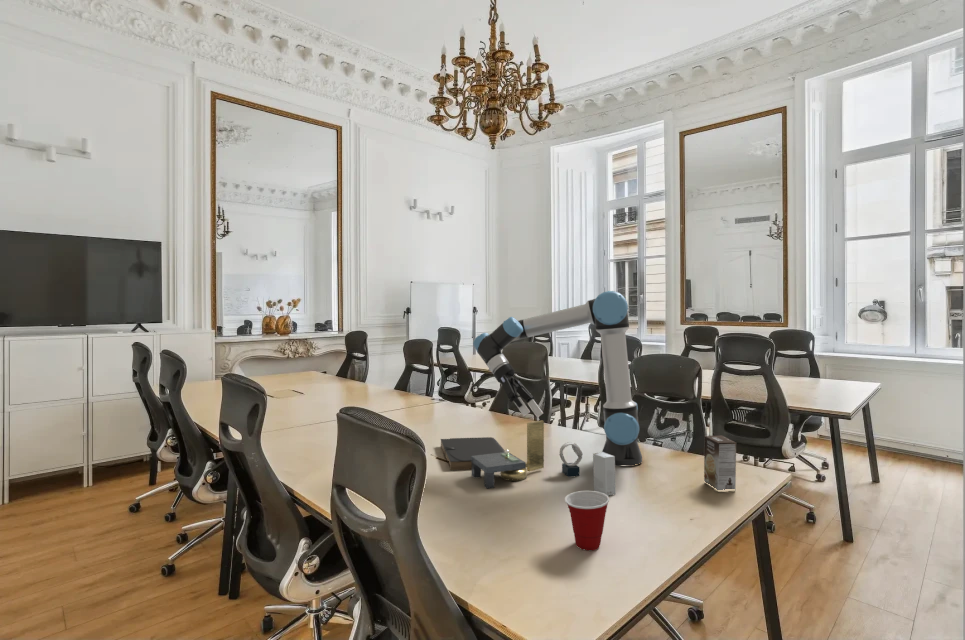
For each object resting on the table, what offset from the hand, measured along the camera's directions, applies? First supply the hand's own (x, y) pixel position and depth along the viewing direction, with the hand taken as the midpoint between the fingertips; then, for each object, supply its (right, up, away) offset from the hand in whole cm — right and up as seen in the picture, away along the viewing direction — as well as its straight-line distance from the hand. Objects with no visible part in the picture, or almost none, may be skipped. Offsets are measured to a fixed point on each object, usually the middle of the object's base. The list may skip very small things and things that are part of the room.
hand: (534, 415), depth 183 cm
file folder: (-22, -21, +21) cm, 36 cm away
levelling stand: (-13, -21, -8) cm, 26 cm away
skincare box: (+20, -21, -20) cm, 36 cm away
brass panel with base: (-5, -20, -2) cm, 21 cm away
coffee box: (+59, -21, -16) cm, 64 cm away
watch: (+13, -21, -2) cm, 24 cm away
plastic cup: (+7, -22, -57) cm, 61 cm away
